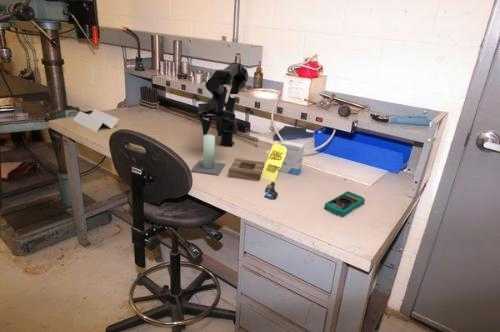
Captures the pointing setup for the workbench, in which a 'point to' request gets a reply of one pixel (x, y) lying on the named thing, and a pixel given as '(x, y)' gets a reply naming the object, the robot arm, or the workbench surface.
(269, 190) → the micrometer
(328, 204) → the digital multimeter
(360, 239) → the workbench surface
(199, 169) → the mat
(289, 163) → the ink box
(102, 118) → the z bracket
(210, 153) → the pin
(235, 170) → the socket block
